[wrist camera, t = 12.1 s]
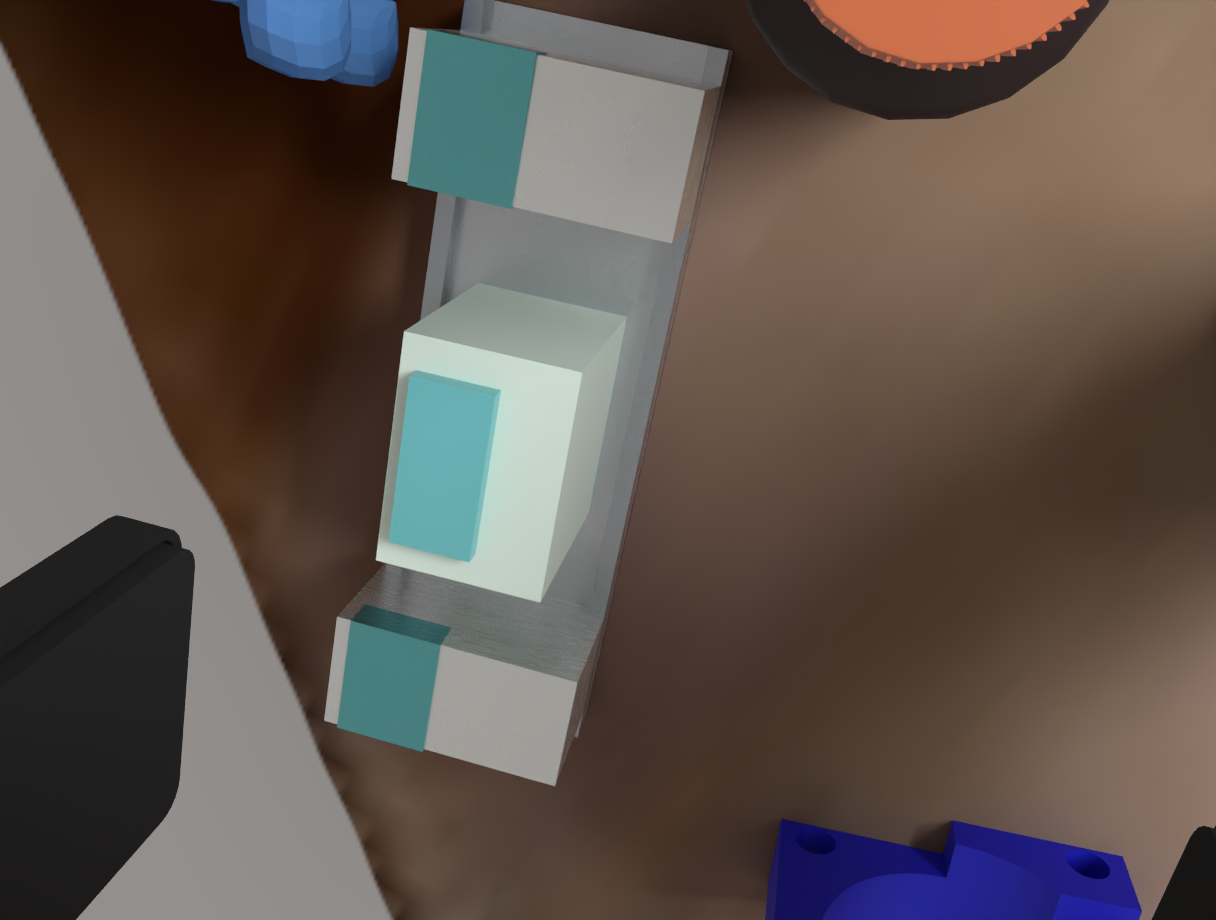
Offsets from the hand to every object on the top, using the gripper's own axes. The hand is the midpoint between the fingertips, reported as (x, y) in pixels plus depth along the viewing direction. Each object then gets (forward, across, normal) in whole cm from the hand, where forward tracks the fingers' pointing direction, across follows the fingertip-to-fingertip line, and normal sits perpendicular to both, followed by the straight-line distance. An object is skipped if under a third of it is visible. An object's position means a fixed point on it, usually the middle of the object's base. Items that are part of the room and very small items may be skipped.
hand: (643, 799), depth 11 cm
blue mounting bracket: (+29, -11, +20) cm, 37 cm away
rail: (+28, +7, +6) cm, 30 cm away
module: (+27, +7, +6) cm, 29 cm away
